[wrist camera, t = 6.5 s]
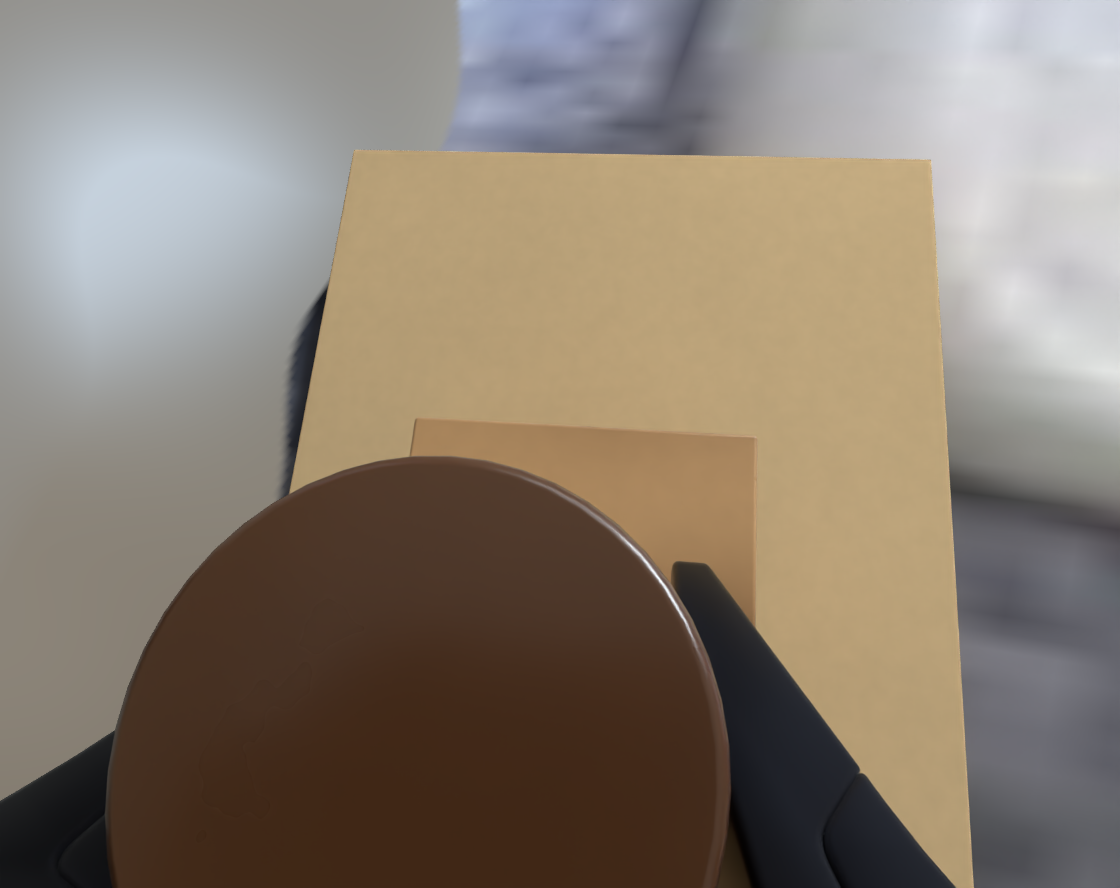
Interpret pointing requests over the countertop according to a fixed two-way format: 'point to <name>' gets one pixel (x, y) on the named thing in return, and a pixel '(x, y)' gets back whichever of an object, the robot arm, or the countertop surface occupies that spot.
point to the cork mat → (695, 387)
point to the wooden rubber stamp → (447, 674)
